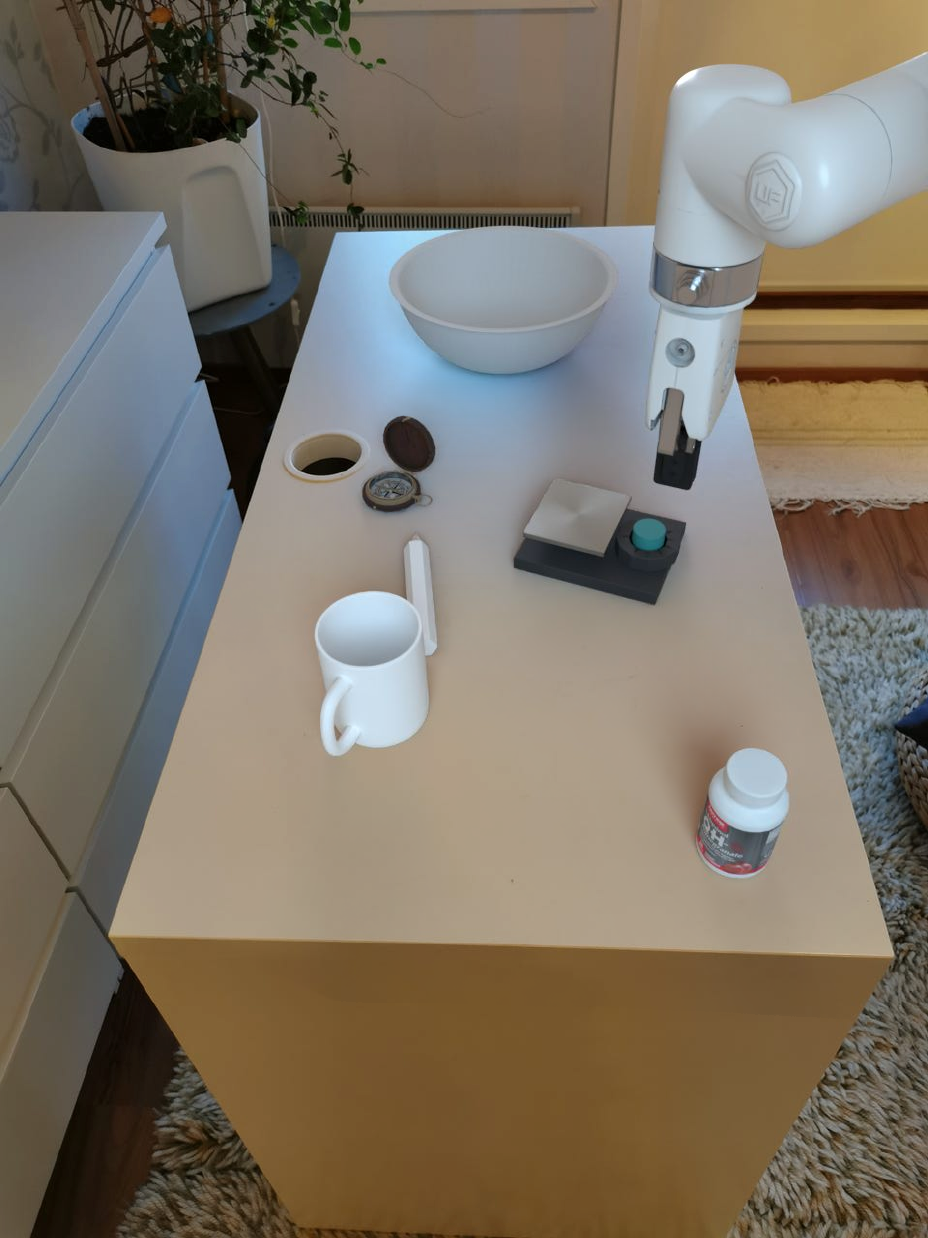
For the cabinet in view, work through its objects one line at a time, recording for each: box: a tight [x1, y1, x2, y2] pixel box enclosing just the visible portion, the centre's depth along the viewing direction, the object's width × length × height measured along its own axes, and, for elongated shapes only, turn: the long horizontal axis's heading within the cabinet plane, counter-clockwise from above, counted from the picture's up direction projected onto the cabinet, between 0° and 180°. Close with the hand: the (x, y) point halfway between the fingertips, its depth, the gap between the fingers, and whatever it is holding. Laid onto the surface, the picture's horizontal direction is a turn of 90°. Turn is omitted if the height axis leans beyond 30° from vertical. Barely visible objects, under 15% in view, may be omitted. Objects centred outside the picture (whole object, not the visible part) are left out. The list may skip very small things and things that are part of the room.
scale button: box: [632, 519, 666, 551], centre depth 90 cm, size 3×3×2 cm
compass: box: [361, 415, 436, 513], centre depth 98 cm, size 8×8×7 cm
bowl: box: [388, 225, 619, 375], centre depth 117 cm, size 27×27×10 cm
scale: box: [513, 508, 687, 606], centre depth 92 cm, size 14×11×3 cm
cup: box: [314, 590, 430, 757], centre depth 75 cm, size 8×12×10 cm
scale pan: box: [522, 477, 633, 557], centre depth 92 cm, size 8×9×1 cm
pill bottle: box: [695, 747, 790, 879], centre depth 67 cm, size 5×5×10 cm
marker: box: [403, 531, 438, 657], centre depth 89 cm, size 3×2×16 cm
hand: (674, 481), depth 79 cm, fingers closed
